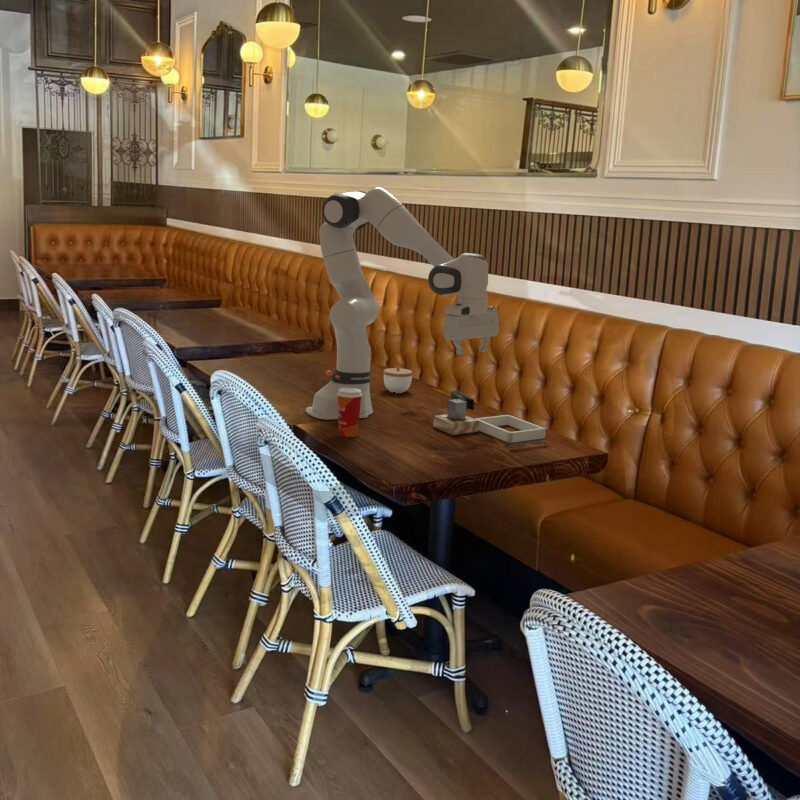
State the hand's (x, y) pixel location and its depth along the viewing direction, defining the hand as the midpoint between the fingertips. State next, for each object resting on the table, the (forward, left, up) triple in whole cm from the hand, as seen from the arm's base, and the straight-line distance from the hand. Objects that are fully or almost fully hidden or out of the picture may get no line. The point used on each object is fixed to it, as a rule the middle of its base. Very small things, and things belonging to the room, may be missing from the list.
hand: (471, 352), depth 267 cm
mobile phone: (+19, +29, -26) cm, 44 cm away
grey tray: (+10, -9, -26) cm, 29 cm away
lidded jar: (+11, +58, -26) cm, 64 cm away
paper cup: (-35, +12, -26) cm, 45 cm away
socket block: (-3, +1, -26) cm, 26 cm away
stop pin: (-3, +1, -24) cm, 24 cm away
